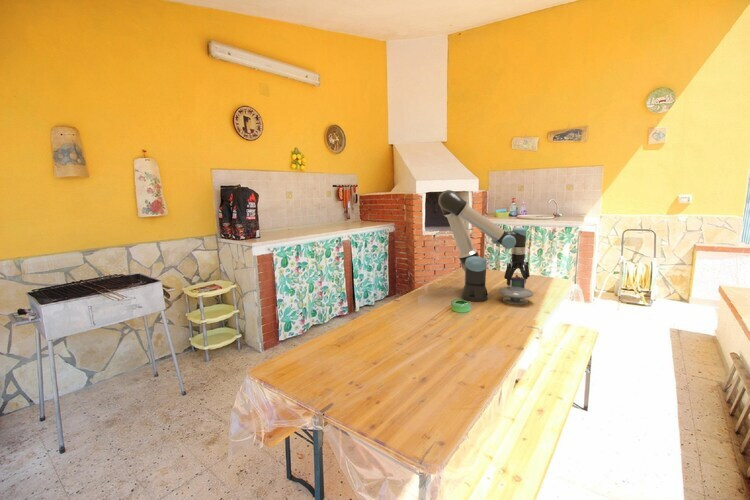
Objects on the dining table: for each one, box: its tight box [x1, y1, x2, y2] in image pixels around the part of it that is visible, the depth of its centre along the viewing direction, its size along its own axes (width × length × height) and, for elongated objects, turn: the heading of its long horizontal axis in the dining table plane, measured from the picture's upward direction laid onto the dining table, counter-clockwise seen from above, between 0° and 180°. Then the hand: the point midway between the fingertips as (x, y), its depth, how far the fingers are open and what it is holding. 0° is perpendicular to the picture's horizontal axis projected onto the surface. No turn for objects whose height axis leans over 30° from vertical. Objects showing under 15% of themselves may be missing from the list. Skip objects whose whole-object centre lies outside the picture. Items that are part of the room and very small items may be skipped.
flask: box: [511, 274, 526, 288], centre depth 218 cm, size 9×3×11 cm, turn 79°
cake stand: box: [498, 286, 534, 306], centre depth 201 cm, size 18×18×6 cm
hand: (516, 289), depth 219 cm, fingers open, 9 cm apart
